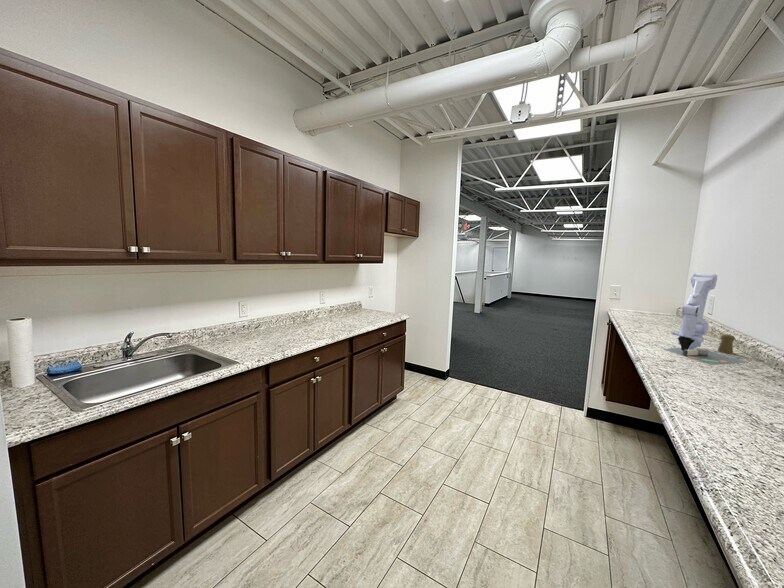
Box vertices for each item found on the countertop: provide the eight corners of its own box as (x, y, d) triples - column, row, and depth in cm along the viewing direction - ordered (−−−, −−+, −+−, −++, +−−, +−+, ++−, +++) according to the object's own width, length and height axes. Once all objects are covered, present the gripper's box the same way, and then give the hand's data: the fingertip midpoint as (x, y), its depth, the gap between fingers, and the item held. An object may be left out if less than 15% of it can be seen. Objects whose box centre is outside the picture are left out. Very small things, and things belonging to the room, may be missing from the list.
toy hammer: (698, 352, 168) (699, 346, 168) (710, 355, 163) (711, 349, 162) (678, 353, 166) (679, 347, 165) (689, 356, 160) (690, 350, 160)
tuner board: (661, 350, 174) (661, 348, 174) (694, 349, 178) (694, 346, 178) (711, 367, 151) (711, 364, 150) (747, 364, 154) (748, 362, 154)
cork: (736, 356, 167) (739, 336, 165) (722, 355, 168) (726, 335, 166) (726, 352, 173) (730, 333, 171) (713, 351, 174) (717, 332, 172)
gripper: (668, 323, 172) (664, 346, 174) (697, 330, 158) (693, 355, 160) (678, 323, 174) (674, 346, 176) (708, 330, 159) (704, 354, 161)
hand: (684, 350), depth 168 cm, fingers closed
